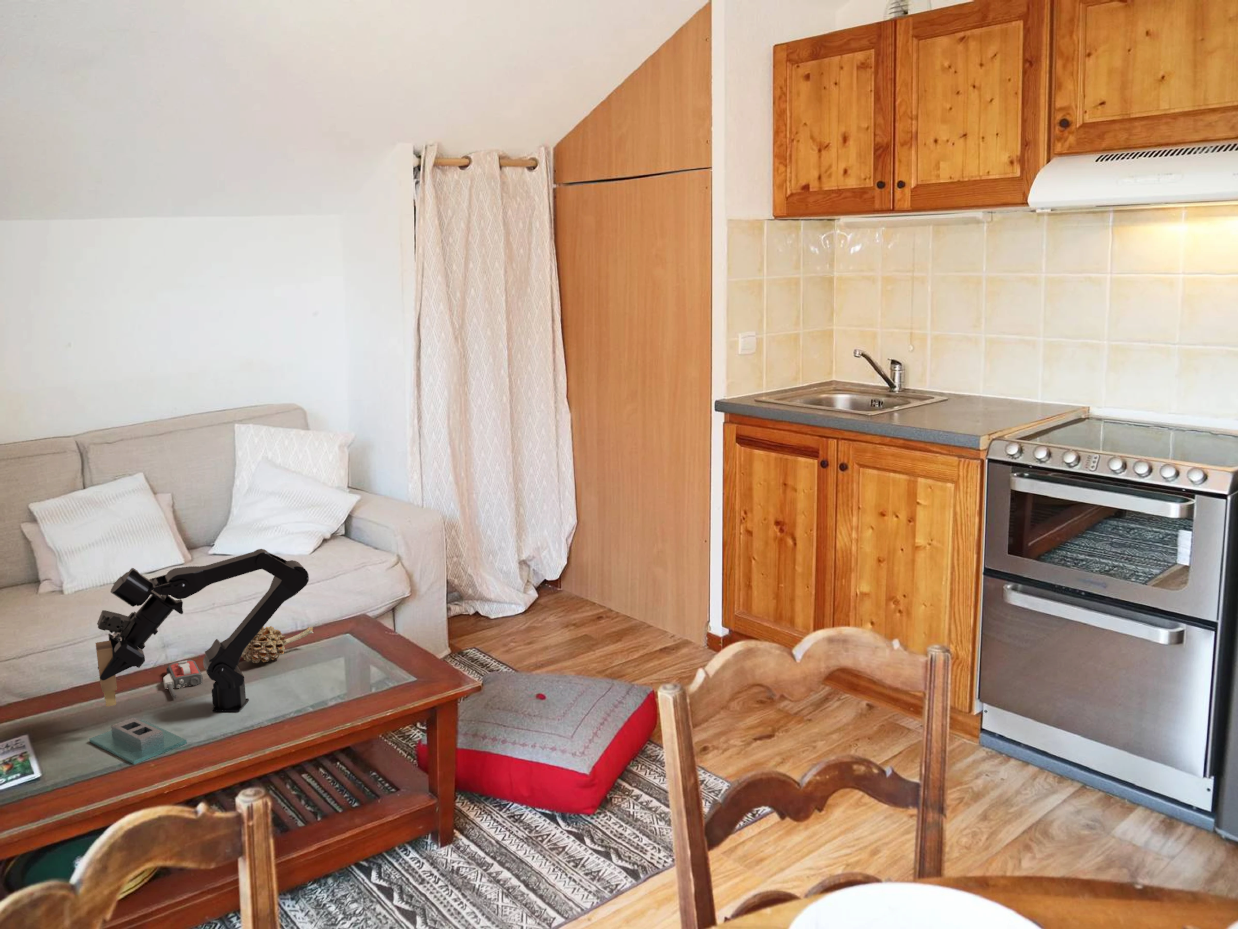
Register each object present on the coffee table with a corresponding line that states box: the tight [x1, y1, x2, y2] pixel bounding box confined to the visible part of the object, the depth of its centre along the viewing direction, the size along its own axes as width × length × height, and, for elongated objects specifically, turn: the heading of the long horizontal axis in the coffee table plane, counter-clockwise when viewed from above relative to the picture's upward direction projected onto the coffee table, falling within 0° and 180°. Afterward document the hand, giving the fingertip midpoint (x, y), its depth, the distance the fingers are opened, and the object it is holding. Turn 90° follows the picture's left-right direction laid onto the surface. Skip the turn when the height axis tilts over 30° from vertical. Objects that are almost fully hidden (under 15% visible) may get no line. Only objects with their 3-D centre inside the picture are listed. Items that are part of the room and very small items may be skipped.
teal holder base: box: [89, 717, 188, 765], centre depth 233 cm, size 18×12×3 cm, turn 53°
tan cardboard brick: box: [95, 639, 118, 707], centre depth 237 cm, size 6×3×13 cm, turn 29°
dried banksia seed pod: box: [241, 625, 314, 664], centre depth 281 cm, size 22×10×10 cm, turn 140°
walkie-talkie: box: [162, 659, 204, 699], centre depth 265 cm, size 9×4×20 cm
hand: (100, 674), depth 236 cm, fingers closed on tan cardboard brick, 6 cm apart
